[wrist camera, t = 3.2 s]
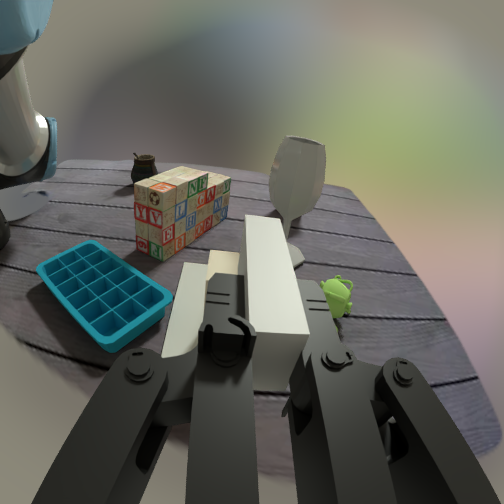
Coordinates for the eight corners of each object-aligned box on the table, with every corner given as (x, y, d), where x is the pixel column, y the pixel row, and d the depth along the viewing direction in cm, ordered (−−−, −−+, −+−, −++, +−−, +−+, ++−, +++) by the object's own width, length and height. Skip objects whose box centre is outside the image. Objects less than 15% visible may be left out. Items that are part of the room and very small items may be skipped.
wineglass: (312, 265, 51) (344, 150, 40) (271, 274, 47) (300, 145, 36) (285, 241, 57) (308, 136, 46) (246, 247, 53) (265, 131, 42)
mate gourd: (162, 183, 75) (164, 148, 70) (147, 192, 69) (147, 154, 63) (141, 179, 76) (142, 145, 71) (125, 187, 70) (125, 151, 64)
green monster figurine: (336, 336, 37) (351, 305, 34) (302, 318, 39) (314, 286, 36) (350, 312, 41) (364, 283, 38) (320, 297, 44) (331, 267, 41)
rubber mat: (160, 363, 29) (160, 361, 29) (184, 264, 46) (184, 262, 45) (285, 374, 31) (285, 372, 30) (270, 273, 47) (271, 271, 47)
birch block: (201, 356, 31) (205, 280, 25) (204, 324, 35) (210, 249, 29) (245, 360, 31) (262, 285, 25) (245, 328, 35) (259, 255, 30)
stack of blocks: (203, 210, 64) (208, 157, 58) (227, 218, 62) (234, 163, 56) (135, 250, 47) (133, 181, 41) (163, 263, 45) (163, 191, 39)
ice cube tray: (94, 253, 44) (92, 238, 42) (177, 313, 36) (177, 296, 35) (38, 282, 35) (33, 266, 33) (110, 364, 27) (104, 348, 26)
